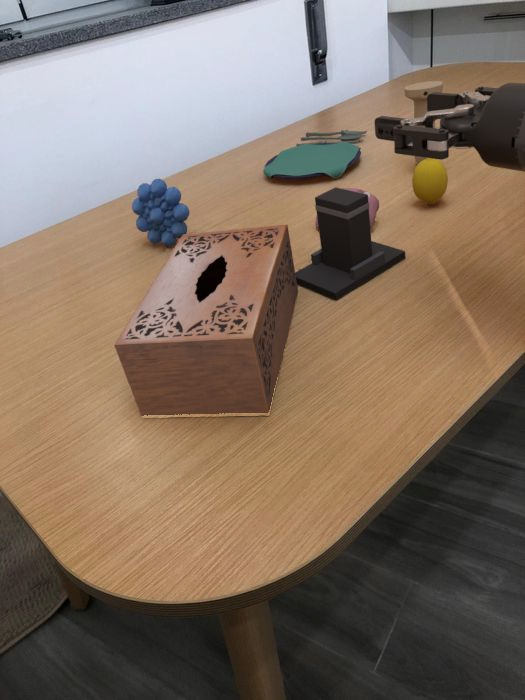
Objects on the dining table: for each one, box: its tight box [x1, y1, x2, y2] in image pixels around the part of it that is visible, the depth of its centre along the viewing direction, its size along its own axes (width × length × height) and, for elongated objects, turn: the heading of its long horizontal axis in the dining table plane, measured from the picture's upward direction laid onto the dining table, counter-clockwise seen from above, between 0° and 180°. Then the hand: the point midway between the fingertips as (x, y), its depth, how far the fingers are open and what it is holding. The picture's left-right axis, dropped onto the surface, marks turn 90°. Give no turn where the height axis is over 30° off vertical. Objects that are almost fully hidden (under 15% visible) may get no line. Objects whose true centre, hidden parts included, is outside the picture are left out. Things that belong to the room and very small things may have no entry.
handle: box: [404, 80, 444, 167], centre depth 108 cm, size 5×6×15 cm
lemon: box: [411, 158, 449, 206], centre depth 97 cm, size 6×6×8 cm
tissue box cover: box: [113, 224, 299, 417], centre depth 72 cm, size 26×14×10 cm, turn 170°
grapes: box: [131, 178, 190, 248], centre depth 101 cm, size 12×7×12 cm, turn 63°
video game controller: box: [314, 187, 380, 231], centre depth 97 cm, size 10×5×7 cm, turn 57°
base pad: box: [295, 240, 406, 301], centre depth 85 cm, size 14×9×3 cm, turn 129°
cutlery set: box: [262, 129, 368, 180], centre depth 127 cm, size 20×30×2 cm, turn 157°
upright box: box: [314, 186, 372, 273], centre depth 82 cm, size 4×6×10 cm
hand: (403, 114), depth 65 cm, fingers open, 8 cm apart
